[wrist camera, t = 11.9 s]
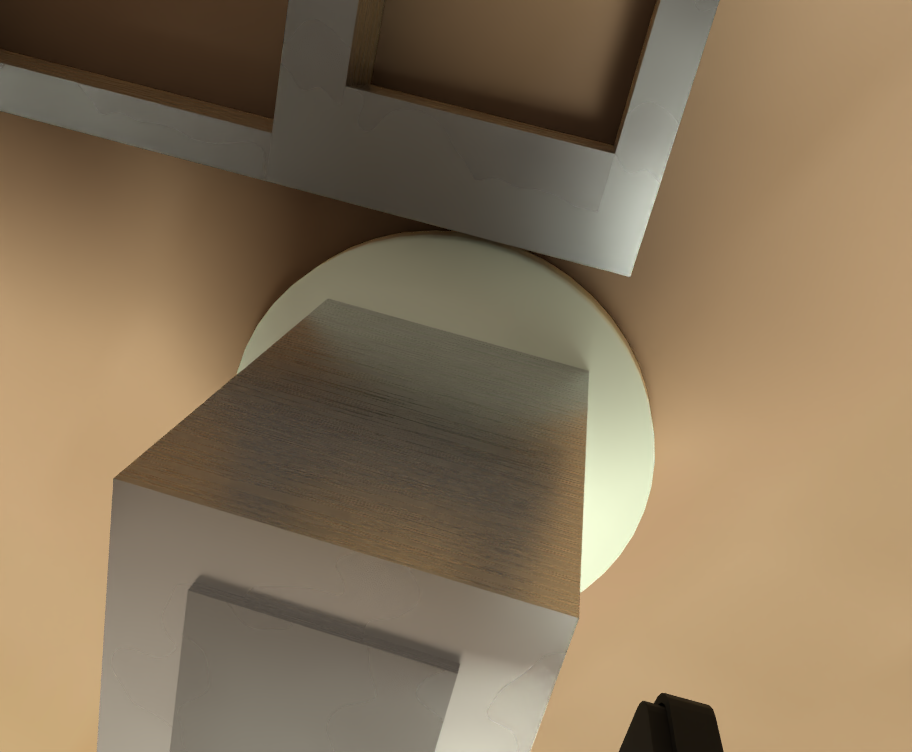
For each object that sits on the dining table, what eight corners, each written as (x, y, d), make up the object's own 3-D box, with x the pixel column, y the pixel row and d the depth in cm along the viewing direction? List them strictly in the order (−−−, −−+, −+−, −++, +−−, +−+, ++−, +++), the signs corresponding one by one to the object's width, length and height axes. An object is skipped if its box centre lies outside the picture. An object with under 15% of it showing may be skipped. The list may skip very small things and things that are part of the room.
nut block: (328, 298, 15) (105, 485, 8) (588, 370, 14) (578, 628, 8) (290, 519, 17) (86, 813, 10) (519, 587, 16) (463, 940, 10)
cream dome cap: (227, 542, 18) (212, 562, 17) (274, 181, 15) (257, 187, 14) (583, 649, 17) (582, 674, 17) (714, 296, 14) (720, 309, 13)
